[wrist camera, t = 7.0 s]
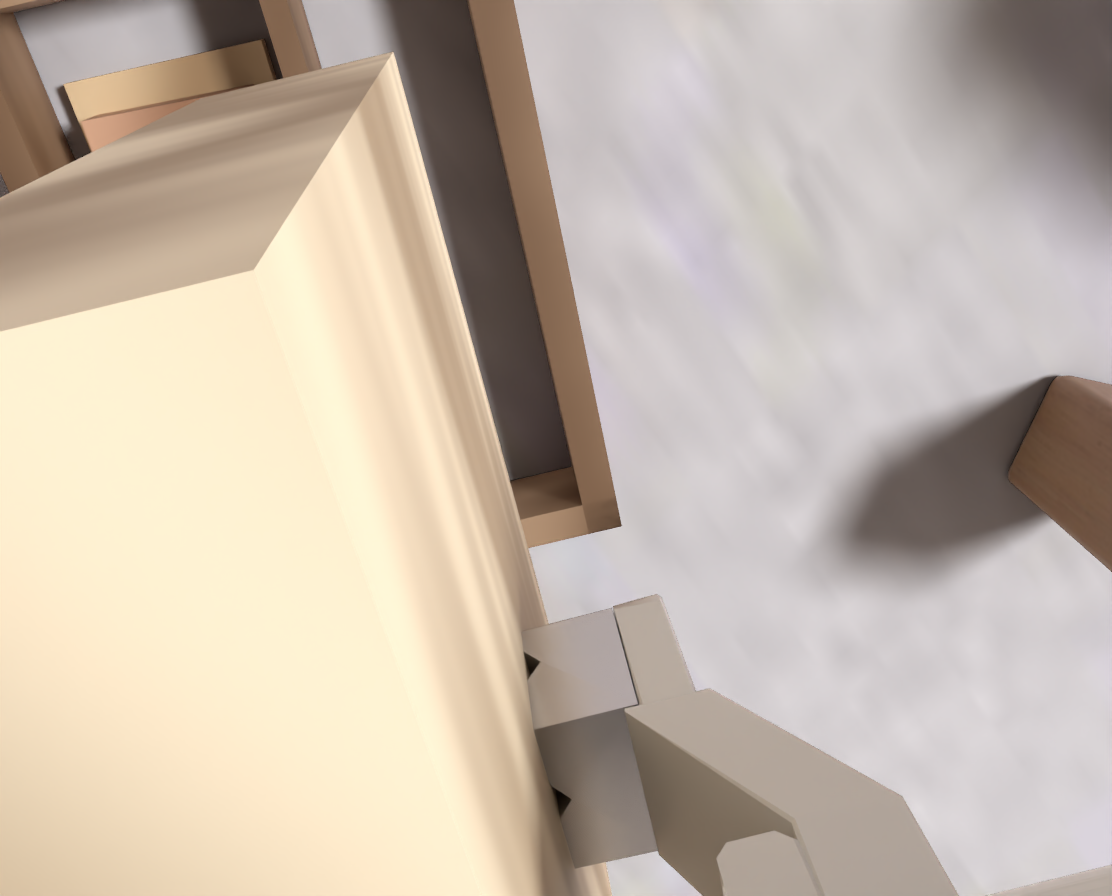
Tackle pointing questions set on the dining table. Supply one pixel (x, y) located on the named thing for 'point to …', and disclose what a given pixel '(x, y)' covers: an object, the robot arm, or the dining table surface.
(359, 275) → the chamfered cream block
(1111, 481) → the wooden block
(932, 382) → the dining table surface
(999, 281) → the dining table surface
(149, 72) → the offcut lower
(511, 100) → the brown divided wooden tray
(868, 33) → the dining table surface
